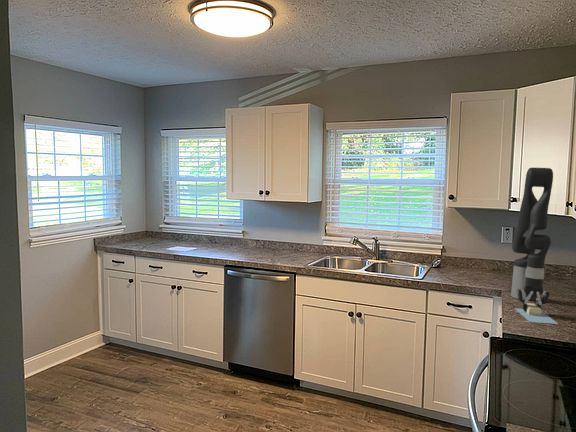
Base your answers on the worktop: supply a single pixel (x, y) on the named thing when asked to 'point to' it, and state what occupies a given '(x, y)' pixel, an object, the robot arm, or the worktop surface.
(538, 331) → the worktop surface
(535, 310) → the cream notched block
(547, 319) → the mat
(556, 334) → the worktop surface
